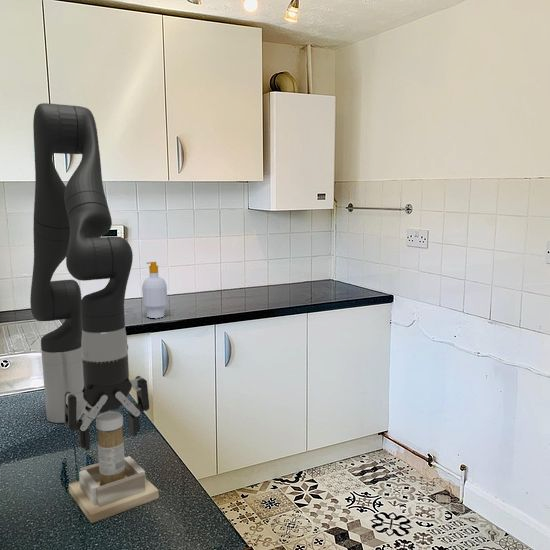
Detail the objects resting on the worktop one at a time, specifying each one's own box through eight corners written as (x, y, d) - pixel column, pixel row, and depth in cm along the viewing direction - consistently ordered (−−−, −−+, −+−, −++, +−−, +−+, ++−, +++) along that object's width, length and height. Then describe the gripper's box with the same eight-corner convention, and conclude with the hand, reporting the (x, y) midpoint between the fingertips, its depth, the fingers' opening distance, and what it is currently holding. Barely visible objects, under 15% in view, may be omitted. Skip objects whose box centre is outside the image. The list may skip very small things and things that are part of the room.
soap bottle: (139, 317, 235) (136, 262, 231) (160, 313, 241) (158, 259, 238) (150, 321, 227) (147, 264, 223) (172, 317, 233) (170, 262, 230)
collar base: (68, 491, 98) (67, 468, 98) (132, 470, 105) (130, 449, 105) (91, 523, 89) (89, 498, 88) (158, 498, 96) (157, 474, 95)
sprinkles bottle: (117, 477, 100) (114, 408, 98) (131, 486, 97) (127, 415, 95) (94, 487, 97) (90, 415, 95) (107, 496, 94) (104, 423, 92)
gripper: (135, 341, 100) (139, 423, 103) (55, 355, 92) (62, 445, 94) (153, 350, 94) (156, 438, 97) (69, 367, 86) (75, 462, 88)
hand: (110, 441), depth 96 cm, fingers open, 8 cm apart
